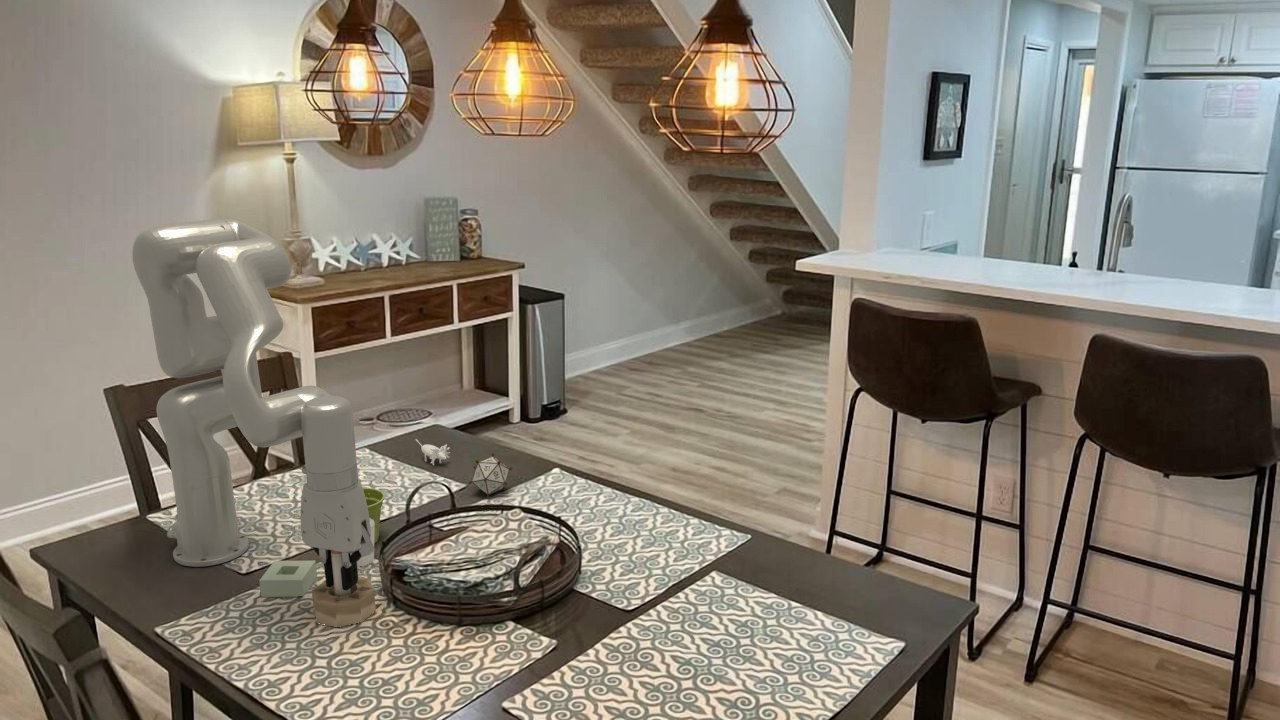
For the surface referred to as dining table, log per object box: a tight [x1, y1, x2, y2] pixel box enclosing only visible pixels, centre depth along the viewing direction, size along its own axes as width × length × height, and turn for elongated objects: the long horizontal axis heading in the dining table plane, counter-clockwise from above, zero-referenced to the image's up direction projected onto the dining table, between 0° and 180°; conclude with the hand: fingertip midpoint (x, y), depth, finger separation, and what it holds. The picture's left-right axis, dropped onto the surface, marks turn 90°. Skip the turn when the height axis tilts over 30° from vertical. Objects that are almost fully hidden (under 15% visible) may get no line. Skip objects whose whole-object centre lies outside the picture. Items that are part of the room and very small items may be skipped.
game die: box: [467, 452, 514, 500], centre depth 200 cm, size 9×8×10 cm
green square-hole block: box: [258, 560, 318, 598], centre depth 162 cm, size 7×7×3 cm
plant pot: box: [363, 487, 386, 544], centre depth 178 cm, size 9×9×9 cm
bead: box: [311, 575, 377, 628], centre depth 153 cm, size 9×9×4 cm
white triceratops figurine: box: [415, 438, 451, 466], centre depth 218 cm, size 12×5×5 cm, turn 43°
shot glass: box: [351, 518, 375, 568], centre depth 171 cm, size 7×7×7 cm
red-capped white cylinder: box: [331, 550, 351, 597], centre depth 152 cm, size 2×2×12 cm
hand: (342, 583), depth 153 cm, fingers closed on red-capped white cylinder, 2 cm apart
